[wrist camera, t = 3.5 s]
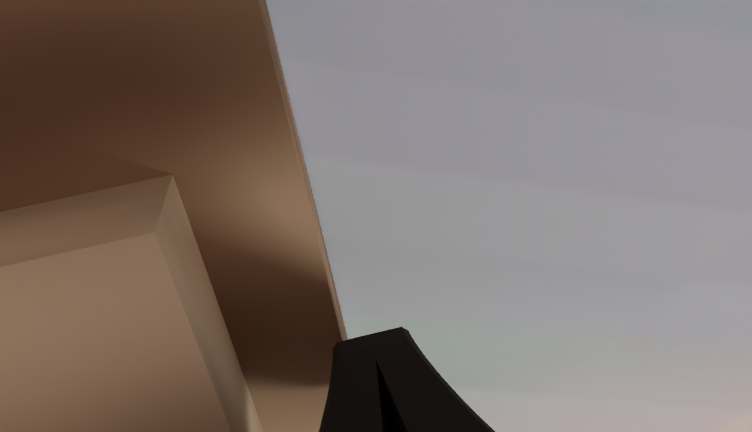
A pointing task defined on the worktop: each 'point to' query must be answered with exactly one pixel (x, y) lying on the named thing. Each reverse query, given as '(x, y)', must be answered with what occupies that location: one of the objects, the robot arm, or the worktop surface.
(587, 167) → the worktop surface
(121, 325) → the tile
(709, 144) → the worktop surface
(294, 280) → the butcher block
